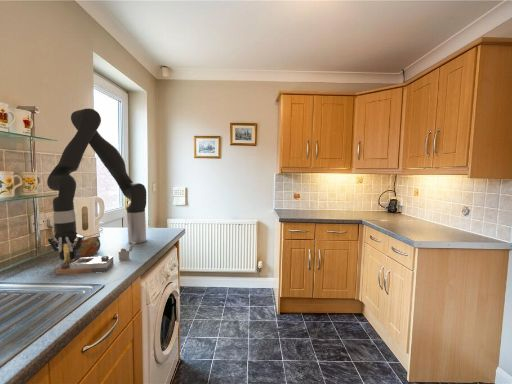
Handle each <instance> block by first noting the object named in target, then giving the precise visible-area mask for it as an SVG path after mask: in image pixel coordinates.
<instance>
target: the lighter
mask: <svg viewBox="0 0 512 384" xmlns="http://www.w3.org/2000/svg"><path fill="white" fill-rule="evenodd" d="M130 244H131V245H130V247H129V249H127V248H126V247H123V248H121V249H119V250H118V261H119V260H121V261H128V260H127V259H129V258H131V257H130V252H132V251H133V249H134V247H135V245H136V244H137V243H136V242H132V243H130ZM129 260H130V259H129Z"/></svg>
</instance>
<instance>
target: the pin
mask: <svg viewBox="0 0 512 384" xmlns="http://www.w3.org/2000/svg"><path fill="white" fill-rule="evenodd" d="M63 255H64V260H63V263H67V262H69V263H73V262H74V261H73V260H74V259H73V260H71V259H70V249H69V247H68V244H67V243H64V244H63Z"/></svg>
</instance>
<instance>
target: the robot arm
mask: <svg viewBox="0 0 512 384" xmlns="http://www.w3.org/2000/svg"><path fill="white" fill-rule="evenodd" d="M70 120H71V124H72V125H73V126H74V128H75V129H76V130H77V132H76V133H75V135H74V136H73V137H72V138H71V140H70V141H69V142H68V144H67V145H66V146H65V148H64V149H63V152H62V154H61V157H60V159H59V161H58V163H57V165H56V166H55V167H54V168H53V169H52V171H51V172H50V173H49V175H48V177H47V181H46V184H47V187H48V188H49V189H50V190H51V191H58V196H55V197H54V198H53V199H52V207H53V209H52V210H53V217H52V218H53V229H54V232H55V234H54V236H51V237H50V238H48V239H47V242H48V243H49V245H50V246H51V248H52V249H53V251H55V252H58V253H59V259H61V261H64V255H63V244H64V243H67V244H68V247H69V249H70V259H71V260H75V259H74V258H75V257H76V250H77V249H79V248H80V247H81V244H82V242H83V239H85V236H84V235H80V234H78V233H77V222H76V221H77V219H76V213H75V206H74V199H75V195H76V189H77V182H76V179H75V177H74V176H73V175H71V174H72V173H74V172H76V171H77V170H78V169H79V166H80V164H81V161H82V159H83V157H84V154H85V151H86V150H87V147H88V145H90V147H91V148H92V150H93V151H94V153H95V154H96V155H97V157H98V158H99V159H100V162H102V164H103V166H104V167H105V168H106V169H107V171H108V172H109V173H110V175H111V176H112V178H113V179H114V181H115V182H116V184H117V186H118V188H119V189H120V191H121V193H122V194H123V196H124V197H125V198H126V199H129V200H130V204H129V205H128V206H127V207H126V217H127V218H126V219H127V220H126V221H127V237H128V238H127V241H128V243H129V244H132V242H136V243H135V244H141V243H145V242H146V241H147V225H146V224H147V223H146V207H147V189H146V187H145V185H144V184H142V183H140V182H134V181H133V180H132V179H131V177H130V176H129V174H128V172H127V168H126V163H125V162H126V161H125V160H124V158H123V156H122V154H121V153H120V151H119V150H118V149H117V147H115V146H114V145H113V144H112V143H110V142H109V141H107V140H106V139H105V138H104V137H102V135H101V133H99V132H98V129H99V127H100V126H101V123H102V117H101V115H100V114H99V112H98V111H97V110H95V109H93V108H83V109H78V110H75V111H73V112H72V113H71V115H70ZM75 242H77V243H76V246H75Z"/></svg>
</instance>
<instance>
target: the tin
mask: <svg viewBox="0 0 512 384" xmlns="http://www.w3.org/2000/svg"><path fill="white" fill-rule="evenodd" d="M76 243H77V241H75V246H76ZM100 248H101V240H100V239H99V238H98V237H96V236H89V237H85V238H84V239H83V242H82V244H81V247H80V248H79V249H77V250H76V257H75V258H74V259H73V260H77V259H79V258H82V257H92V256H93V255H95V254H97V253H98V252H99V251H100Z"/></svg>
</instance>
